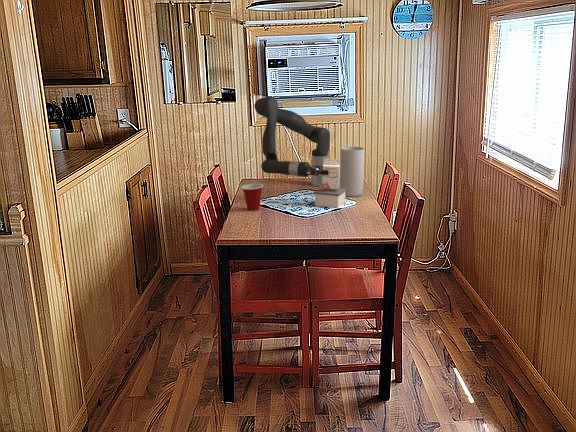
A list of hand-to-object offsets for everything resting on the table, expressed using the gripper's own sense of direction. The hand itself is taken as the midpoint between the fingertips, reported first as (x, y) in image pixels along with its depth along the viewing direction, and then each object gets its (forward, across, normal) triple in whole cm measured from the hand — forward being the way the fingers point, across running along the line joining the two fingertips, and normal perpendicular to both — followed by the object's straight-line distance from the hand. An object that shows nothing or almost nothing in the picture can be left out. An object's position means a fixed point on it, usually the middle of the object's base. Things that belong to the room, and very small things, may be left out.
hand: (330, 171), depth 296 cm
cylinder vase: (+4, +24, +17) cm, 30 cm away
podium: (0, 0, +17) cm, 17 cm away
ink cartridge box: (0, 0, +9) cm, 9 cm away
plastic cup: (-32, -24, +17) cm, 43 cm away
